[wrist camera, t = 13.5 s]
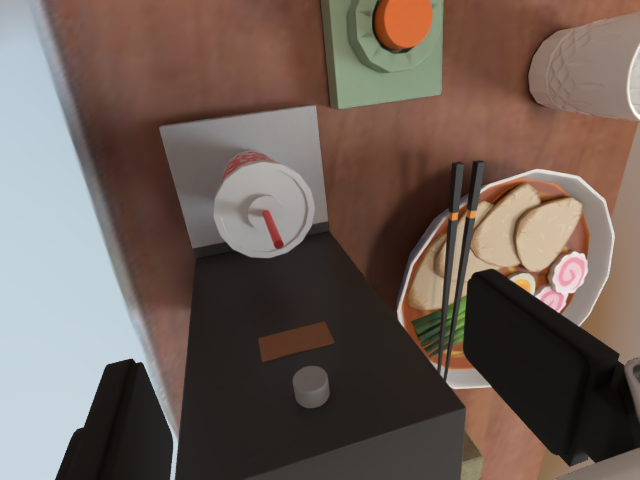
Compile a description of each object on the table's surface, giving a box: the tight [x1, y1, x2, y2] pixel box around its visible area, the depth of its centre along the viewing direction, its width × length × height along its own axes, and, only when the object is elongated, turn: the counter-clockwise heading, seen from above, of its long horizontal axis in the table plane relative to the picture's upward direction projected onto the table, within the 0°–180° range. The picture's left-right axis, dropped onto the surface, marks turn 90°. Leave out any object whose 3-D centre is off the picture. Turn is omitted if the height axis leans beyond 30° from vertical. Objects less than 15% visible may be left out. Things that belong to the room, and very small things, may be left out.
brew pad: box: [321, 0, 443, 109], centre depth 28 cm, size 11×9×4 cm
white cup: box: [528, 11, 640, 122], centre depth 31 cm, size 8×8×10 cm
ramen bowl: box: [397, 161, 615, 389], centre depth 37 cm, size 25×23×8 cm
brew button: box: [374, 0, 433, 50], centre depth 26 cm, size 4×4×2 cm
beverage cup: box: [214, 150, 315, 258], centre depth 24 cm, size 6×6×14 cm
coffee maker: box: [159, 104, 466, 480], centre depth 23 cm, size 17×12×22 cm
